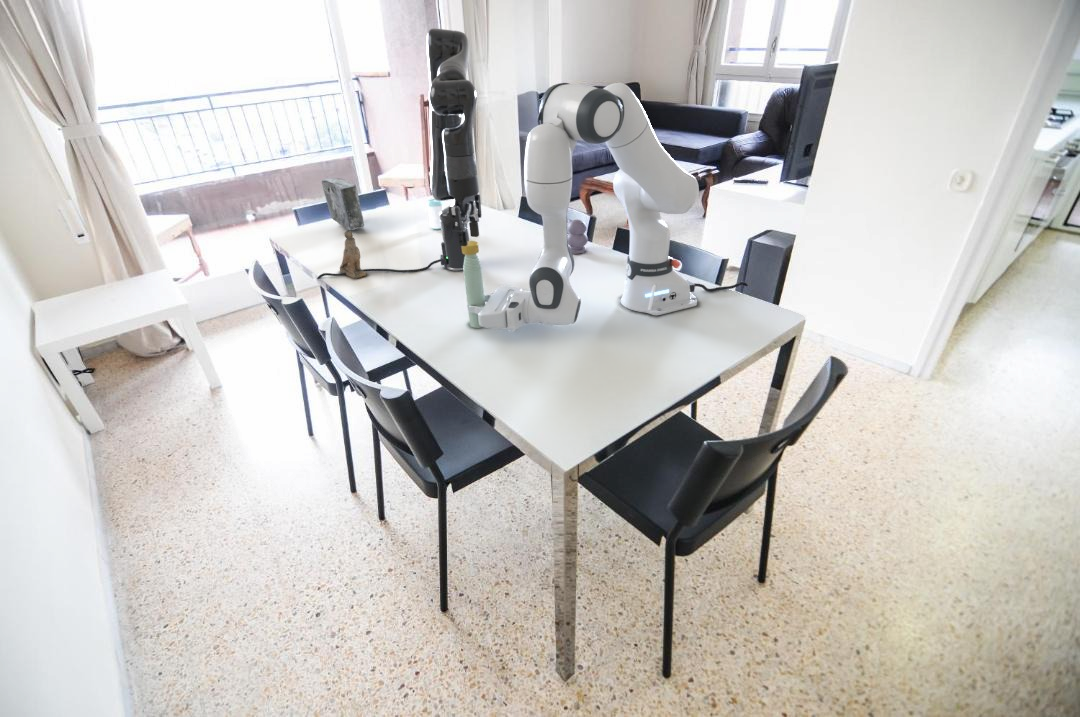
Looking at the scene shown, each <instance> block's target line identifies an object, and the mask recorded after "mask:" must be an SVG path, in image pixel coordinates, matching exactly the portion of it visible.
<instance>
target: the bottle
mask: <svg viewBox="0 0 1080 717" xmlns="http://www.w3.org/2000/svg"><path fill="white" fill-rule="evenodd" d="M464 258H465V259H464V265H463V270H462V272H463V278H464V279H463V280H464V286H465V295H466V303H467V304H466V305H467V312H468V320H469V326H470V327H471V328H473V329H481V328H483V327H482V326H480V325H479V320H478V314H476V313H470V312H469V306H470V305H471V304H472V305H476V306H477V307H481V306H482V307H484V306H485V304H486V302H485V298H484V295H485V290H484V289H485V288H484V280H483V278H484V277H483V271H482V270H483V268H482V264H481V261H480V259H479V256H478V253H476V254H473V255H465V257H464Z"/></svg>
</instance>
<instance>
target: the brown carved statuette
mask: <svg viewBox="0 0 1080 717" xmlns="http://www.w3.org/2000/svg"><path fill="white" fill-rule="evenodd" d="M343 236H344V238H346V239H345V240H344V249H343V253H342V254H343V255H342V261H341V264H340V266H339V273H346V275H345V276H347V277H350V278H352V279H356V280H357V279H360V278H362V277H366V276H367V273H366V272H365V271H364V270H362V269H363V268H361V252H360V249H359V247H358V246H357V244H356V243H357V242H356V239H355V237H354V234H353V230H346V231H345V232H344V234H343Z"/></svg>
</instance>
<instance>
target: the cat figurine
mask: <svg viewBox="0 0 1080 717" xmlns="http://www.w3.org/2000/svg"><path fill="white" fill-rule="evenodd" d="M567 231H568V233H567V240H568V246H569V249H570V251H571V253H572V255H580V254H584V253H585V252H586V245H587V243H588V241H589V237H588V235H587V233H586V231H587V225H586V223H585V222H584V220H581V219H578V218H577V219H569V218H567Z"/></svg>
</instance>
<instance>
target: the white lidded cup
mask: <svg viewBox="0 0 1080 717" xmlns="http://www.w3.org/2000/svg"><path fill="white" fill-rule="evenodd" d="M426 207H427V211H428V212H427V213H428V219H429V226H430V228H431V229H433V230H442V229H441V223H440V212H441V211H442V210H443V209H445V205H444V201H437V200H435V199H434V198H432V199H428V201H427V204H426Z"/></svg>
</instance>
